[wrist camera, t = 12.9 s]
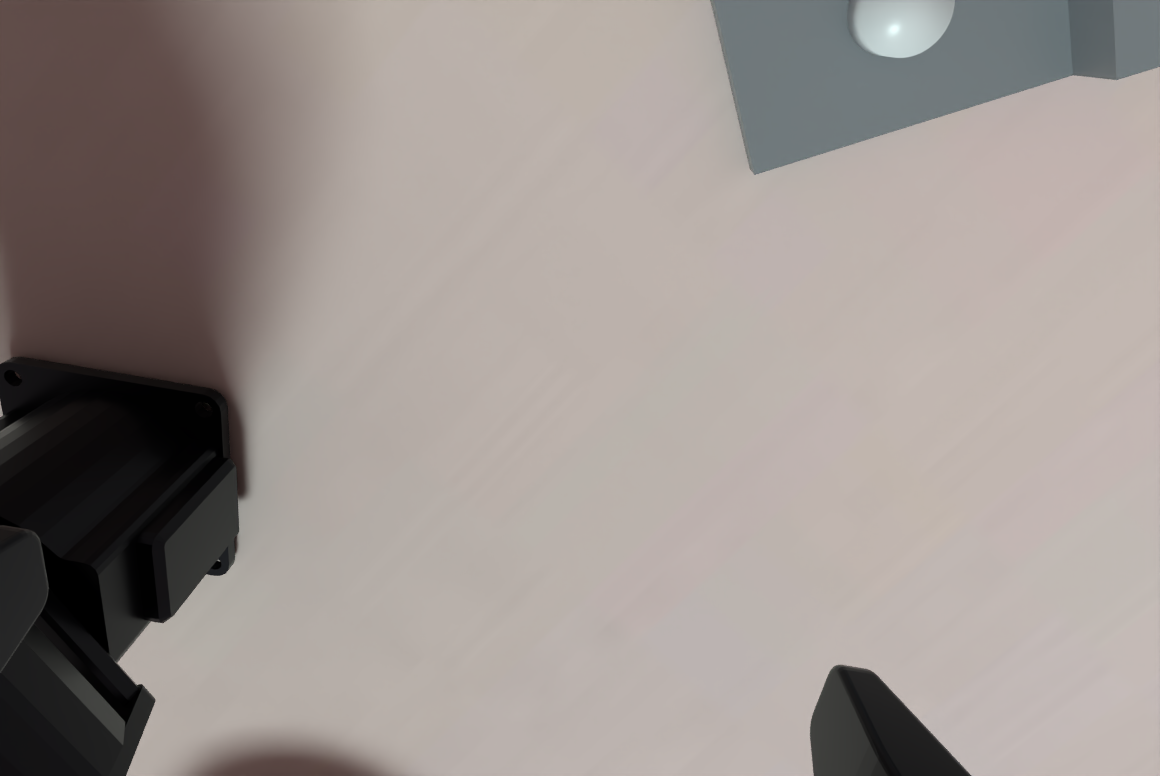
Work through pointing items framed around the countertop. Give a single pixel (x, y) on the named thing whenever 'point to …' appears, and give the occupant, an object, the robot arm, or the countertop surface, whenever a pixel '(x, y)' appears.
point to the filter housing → (909, 61)
